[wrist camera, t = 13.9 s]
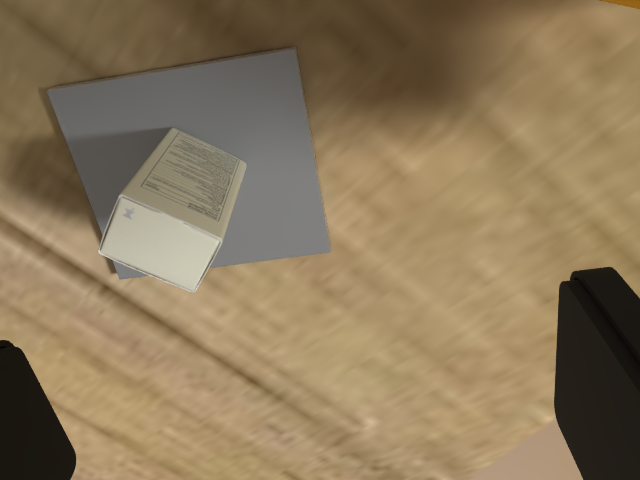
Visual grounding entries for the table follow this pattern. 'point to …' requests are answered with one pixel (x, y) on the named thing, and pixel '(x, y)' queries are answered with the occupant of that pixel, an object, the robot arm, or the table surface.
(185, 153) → the skincare box
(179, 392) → the table surface
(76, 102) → the slate board
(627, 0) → the beer bottle
